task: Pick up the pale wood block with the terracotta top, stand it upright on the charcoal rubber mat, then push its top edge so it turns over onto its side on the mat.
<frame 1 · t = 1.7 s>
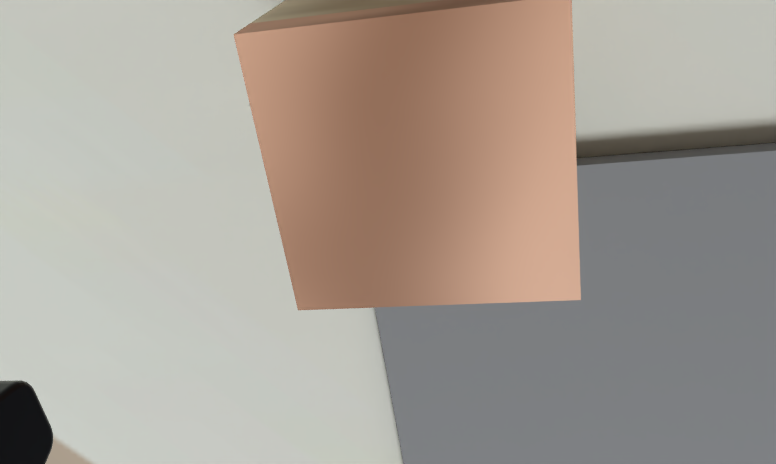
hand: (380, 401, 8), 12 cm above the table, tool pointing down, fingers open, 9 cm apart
rubber mat: (656, 425, 22), on the table
tall block: (452, 56, 18), on the table
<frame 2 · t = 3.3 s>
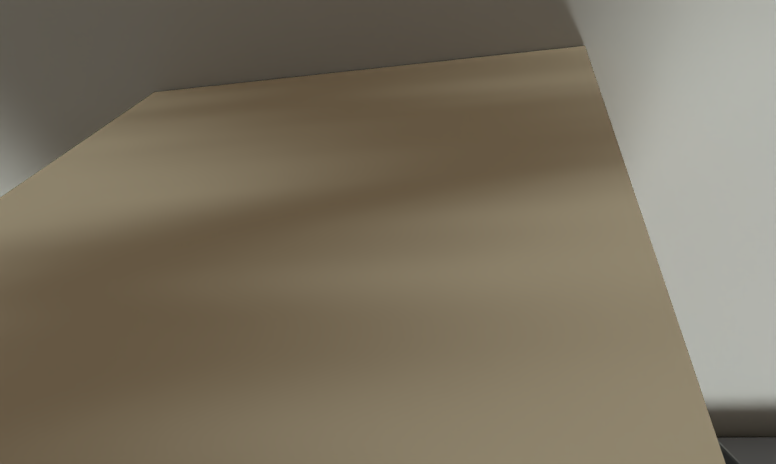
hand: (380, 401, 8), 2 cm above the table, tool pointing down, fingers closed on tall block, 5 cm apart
tall block: (388, 262, 9), on the table, touching gripper
when the fingers open (3 cm above the table, at t = 7.8 s): tall block stays where it is, resting on rubber mat.
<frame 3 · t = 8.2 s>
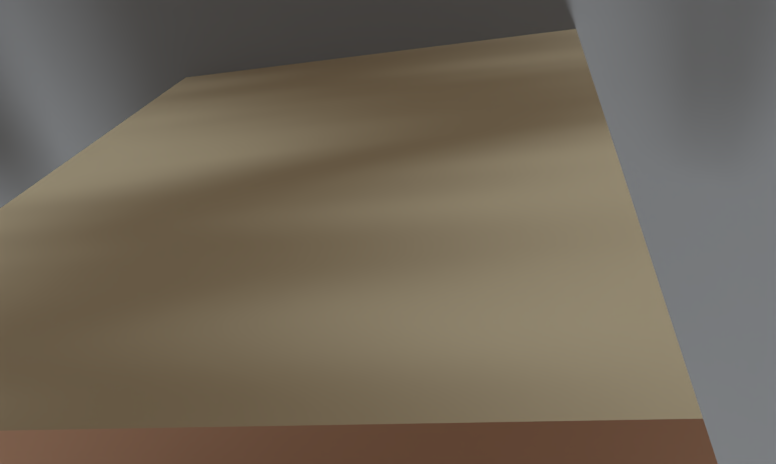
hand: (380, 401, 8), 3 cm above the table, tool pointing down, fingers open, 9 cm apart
tall block: (399, 231, 10), resting on rubber mat
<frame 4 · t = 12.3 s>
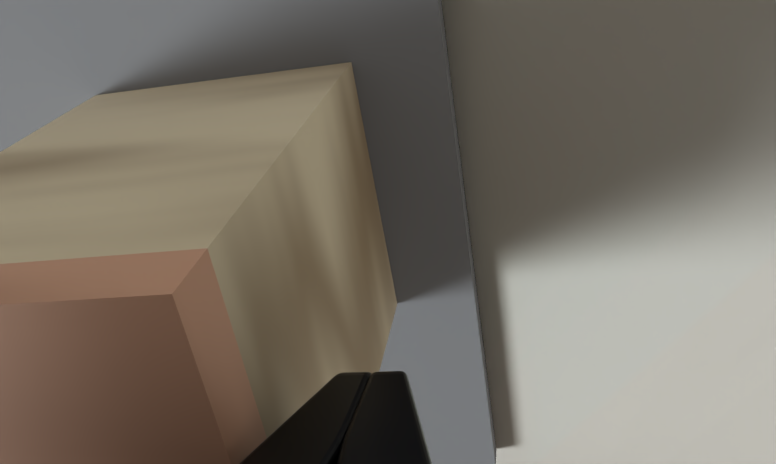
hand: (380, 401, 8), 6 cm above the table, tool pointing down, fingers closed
rubber mat: (29, 166, 15), on the table
tall block: (252, 203, 14), point 1 cm above the table, touching gripper, rubber mat
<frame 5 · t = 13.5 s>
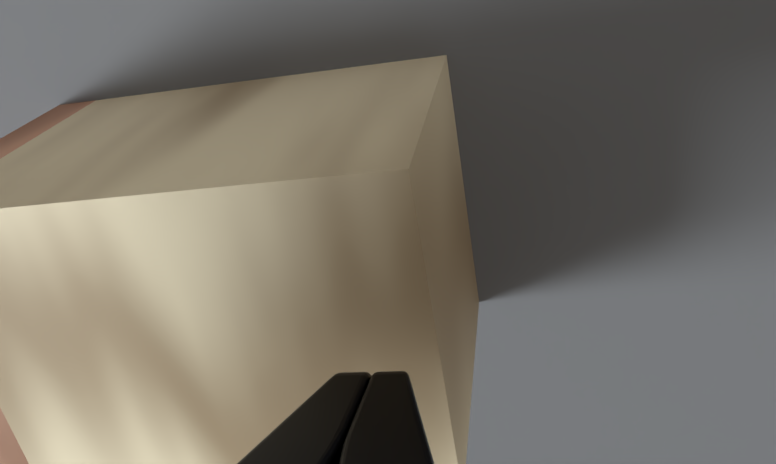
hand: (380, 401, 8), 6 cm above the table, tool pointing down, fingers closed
rubber mat: (334, 137, 14), on the table
tall block: (454, 254, 11), point 3 cm above the table, tilted 90°, touching rubber mat
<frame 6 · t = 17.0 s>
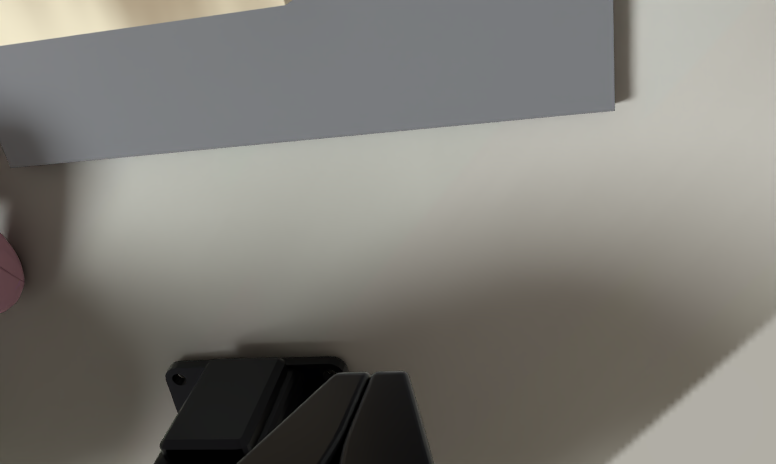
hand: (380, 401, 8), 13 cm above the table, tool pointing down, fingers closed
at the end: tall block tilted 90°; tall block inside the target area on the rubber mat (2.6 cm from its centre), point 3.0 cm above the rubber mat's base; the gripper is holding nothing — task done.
